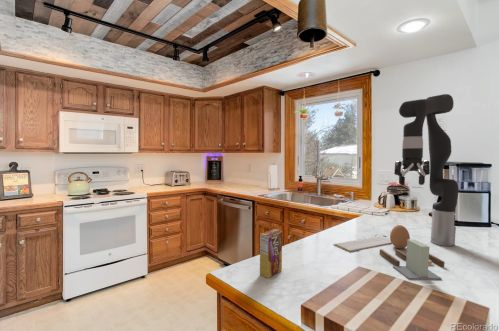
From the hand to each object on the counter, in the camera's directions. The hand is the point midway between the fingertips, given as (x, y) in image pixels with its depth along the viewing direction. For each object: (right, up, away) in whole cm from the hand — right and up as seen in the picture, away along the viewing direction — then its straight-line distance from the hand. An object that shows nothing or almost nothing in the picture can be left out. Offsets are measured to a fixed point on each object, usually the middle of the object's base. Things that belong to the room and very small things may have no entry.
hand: (411, 184), depth 114 cm
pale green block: (-7, -32, -15) cm, 36 cm away
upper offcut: (+1, -32, -3) cm, 32 cm away
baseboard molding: (-13, -32, +18) cm, 39 cm away
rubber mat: (-8, -32, -15) cm, 36 cm away
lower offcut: (+1, -33, -3) cm, 33 cm away
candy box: (-62, -32, -17) cm, 72 cm away
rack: (-2, -32, -3) cm, 32 cm away
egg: (+2, -32, +12) cm, 34 cm away
